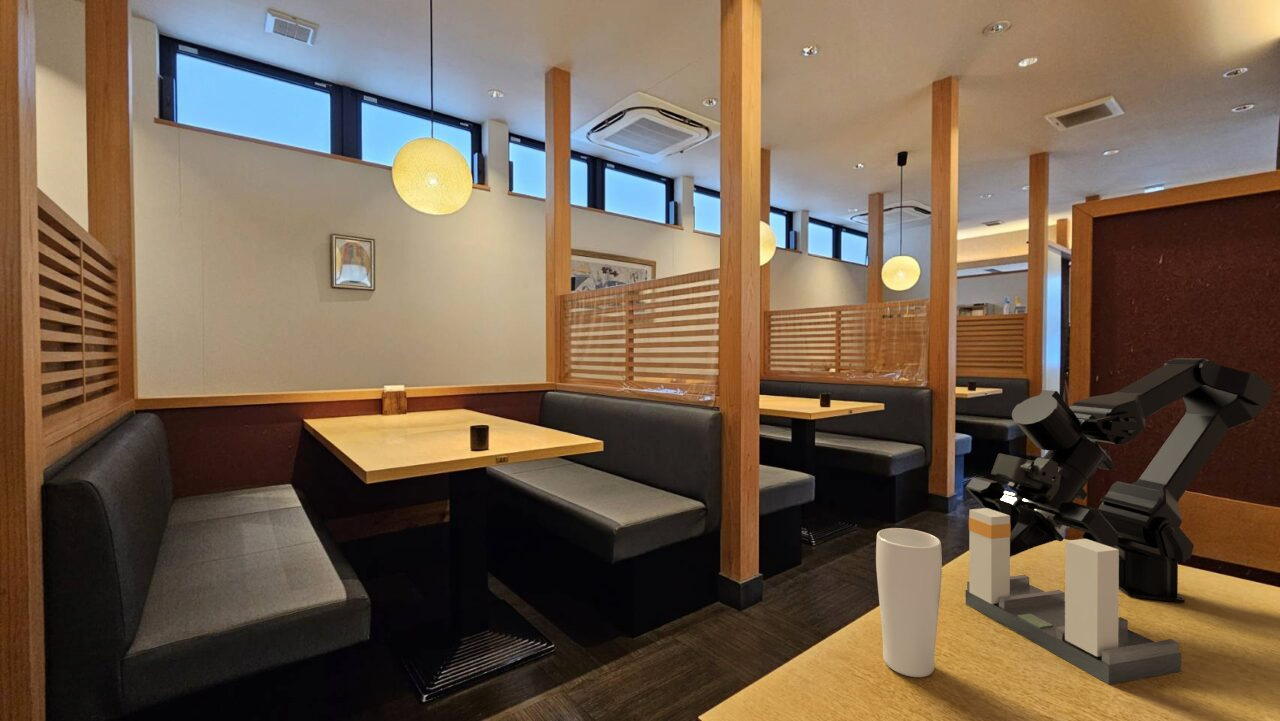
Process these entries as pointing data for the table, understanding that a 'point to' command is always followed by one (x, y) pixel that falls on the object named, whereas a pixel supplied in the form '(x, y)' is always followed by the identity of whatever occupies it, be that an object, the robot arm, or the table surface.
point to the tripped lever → (989, 554)
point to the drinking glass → (909, 598)
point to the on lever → (1091, 595)
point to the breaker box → (1045, 626)
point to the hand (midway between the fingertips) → (999, 556)
